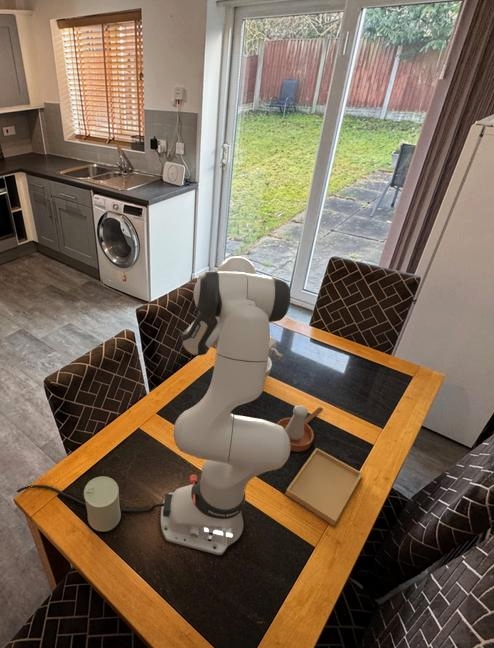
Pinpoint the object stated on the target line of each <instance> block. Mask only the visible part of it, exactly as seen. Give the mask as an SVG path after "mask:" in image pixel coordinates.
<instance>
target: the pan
mask: <svg viewBox="0 0 494 648" xmlns="http://www.w3.org/2000/svg"><path fill="white" fill-rule="evenodd" d="M291 418H292V417H285V418H282V419H280V420H278V421H277V422H276V424H277V425H280V426H282V427H283V428H284V429H286V427H287V425H288V423H289V422H290V420H291ZM314 436H315V434H314V431H313V429H312V428H311V426H310V425H309V424H306V423H305V422H304V435H303V437H302V438H301V439H299V440H298V441H290V445H291V448H290V452H295V453H300V452H301V453H302V452H304V451H305V452H306V451H307V450H309V449H310V448H311V446H312V443H313V442H314Z"/></svg>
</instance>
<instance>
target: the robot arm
mask: <svg viewBox="0 0 494 648" xmlns="http://www.w3.org/2000/svg"><path fill="white" fill-rule="evenodd" d="M291 297H292V296H291V288H290V286H289V285H288V283H287V282H286V281H285V280H283V279H282V278H279V277H276V276H273V275H261V274H257V271H256V268H255V266H254V264H253V262H252V261H250V260H249V259H248V258H246V257H243V256H232V257H228V258H227V259H225V260H224V261H223V262H222V263H221V264H220V265H219V266H218V267H217V268H216V270H208V271H204V272H202V273H201V274H200V275H199V276H198V279H197V281H196V282H195V285H194V288H193V301H194V305H195V309H197V311H198V314H197V315H196V317H195V319H194V320H193V322H191V324H190V325H189V326H188V327H187V328H186V329H185V330H184V331H183V332H182V333H181V335H180V341H181V345H182V347H183V348H184V350H185V351H186V352H188V353H189V354H191V355H192V356H204V355H207V353H208V352H209V350H210V349H211V348H212V349H214V350H216V353H215V361H214V367H213V372H212V377H211V379H210V380H211V381H210V384H209V387H208V389H207V391H206V392H205V394H204V396H203V397H202V398H201V399H200V401H198V402H197V403H196V404H195V405H193V406H191V407H190V408H188V409H186V410H184V411H183V412H182V413H181V414H180V415H179V416H178V417H177V418H176V420H175V423H174V426H173V440H174V444H175V445H176V447H177V449H178V450H179V451H180V452H182V453H184V454H186V455H189V456H190V457H191V456H192V457H194V458H196V459H200V460H205V462H204V463H203V464H202V467H201V474H200V475H201V476H200V479H199V480H198V475H196V474H195V473H193V474H191V475H189V485H184V486H181V487H177V489H175V491H174V492H173V491H172V492H168V493H165V495H164V498H163V500H162V503H155V504H153V505H152V506H151V507H149V508H143V509H142V508H141V509H132V508H120V511H121V513H122V512H125V513H147V512H152V511H154V510H155V508H160V507H161V508H160V529H161V533H162V535H163V537H164V539H165V541H167V542H169V543H172V544H177V545H180V546H184V547H187V548H191V549H194V550H198V551H202V552H206V553H209V554H213V555H217V556H223V554H224V553H225V552H226V550H227V548H228V547H229V546H231V545H233V544H234V543H235V542H236V541H238V539H239V538H240V537H241V535H242V533H243V531H244V518H243V515H242V513H243V512H242V511H243V509H244V506H245V503H246V489H247V486H248V484H249V482H251V480H253V479H254V478H256V477H258V476H259V475H261V474H264V473H266V472H270V471H275V470H279V469H281V468H282V467H283V466H284V465H285V464H286V462H287V461H288V459H289V457H290V454H291V451H290V448H291V445H290V439H289V436H288V434H287V432H286V431H285V429H284V428H283V427H282V426H280V425H277V423H275V422H272V421H270V420H266V419H264V418H258V417H251V416H244V415H239V414H234V413H232V411H233V410H234V409H236V407H238V406H241V405H245V404H248V403H251V402H253V401H255V400H257V399H258V398H259V397H260V396H261V395H262V393H263V391H264V388H265V382H266V378H265V375H266V370H267V362H268V356H269V355H271V356H274V359H275V360H276V361H278V362H279V361H281V360H282V359H283V358H284V355H283V354H282V353H279V351H278V350H277V343H278V342H277V340H276V339H275V338H273V337H271V333H270V331H271V330H270V323H274V322H280V321H282V319H283V318H284V317H285V316H286V315H287V313H288V311H289V309H290V305H291ZM32 485H33V486H32ZM31 486H32V487H31ZM29 487H30V488H29ZM34 488H37V489H40V488H41V489H48V490H51V491H53V492H55V493H58V494H59V495H61V496H63V497H66V498H67V499H69V500H72V501H74V502H76V503H78V504H79V505H82V506H84V507H86V502H85V501H84V502H83V501H82V500H80V499H78V498H76V497H74V496H72V495H70V494H67V493H65V492H63V491H61V490H59V489H57V488H55V487H53V486H49V485H43V484H31V485H30V484H29V485H26V486H23V487H21V488H19V489H17V491H16V493H21V492H22V491H25V490H28V489H34Z"/></svg>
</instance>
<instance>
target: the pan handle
mask: <svg viewBox="0 0 494 648" xmlns="http://www.w3.org/2000/svg"><path fill="white" fill-rule="evenodd" d="M323 411H324V408H323V407H321V406H318V407H317V408H316V409H315V410H314V411H313V412H312V413H310V414H309V415H307V416H306V417H305V420H304V422H305V423H306V424H307V425H309V423H311V422H312V421H313V420H314V419H315V418H316V417H317V416H319V415H320V414H321V413H322V412H323Z"/></svg>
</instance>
